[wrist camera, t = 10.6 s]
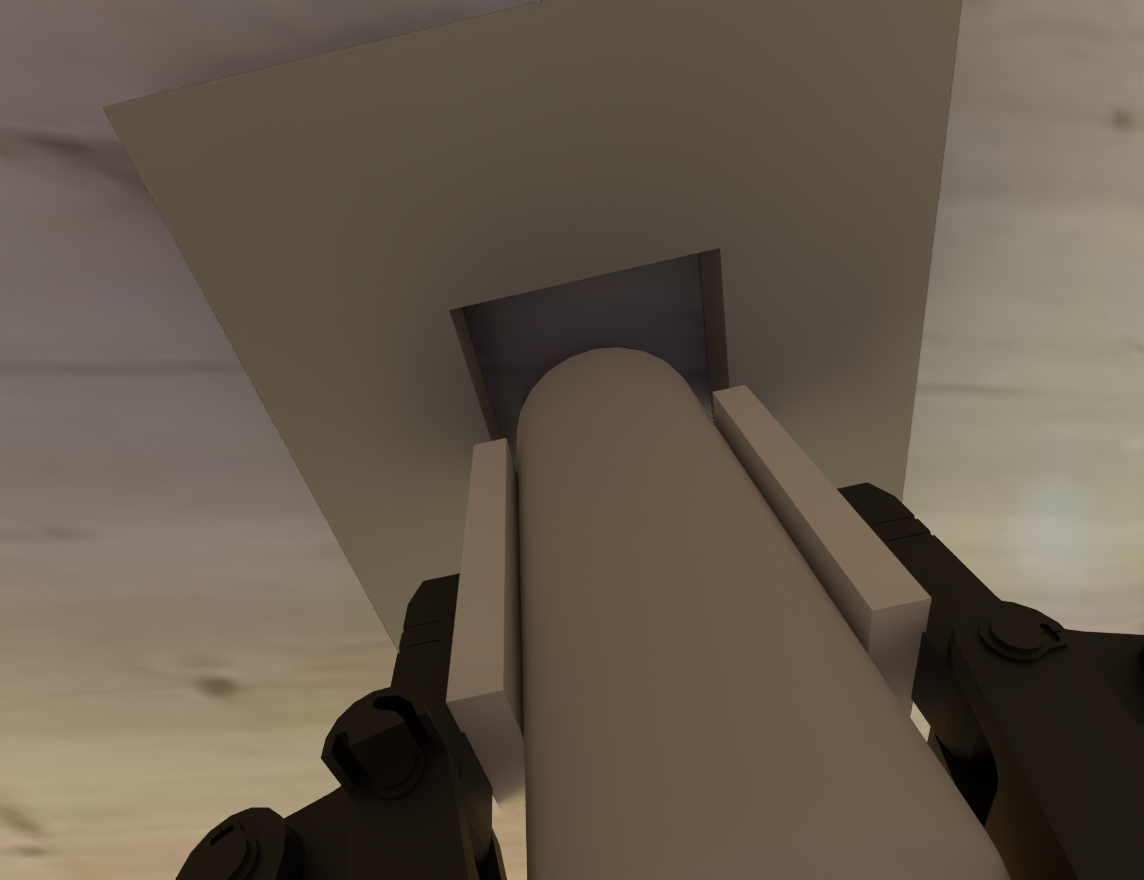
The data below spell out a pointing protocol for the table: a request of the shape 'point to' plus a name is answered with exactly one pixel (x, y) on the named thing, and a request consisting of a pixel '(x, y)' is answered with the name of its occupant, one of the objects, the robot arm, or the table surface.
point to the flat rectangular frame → (559, 227)
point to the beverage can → (699, 665)
